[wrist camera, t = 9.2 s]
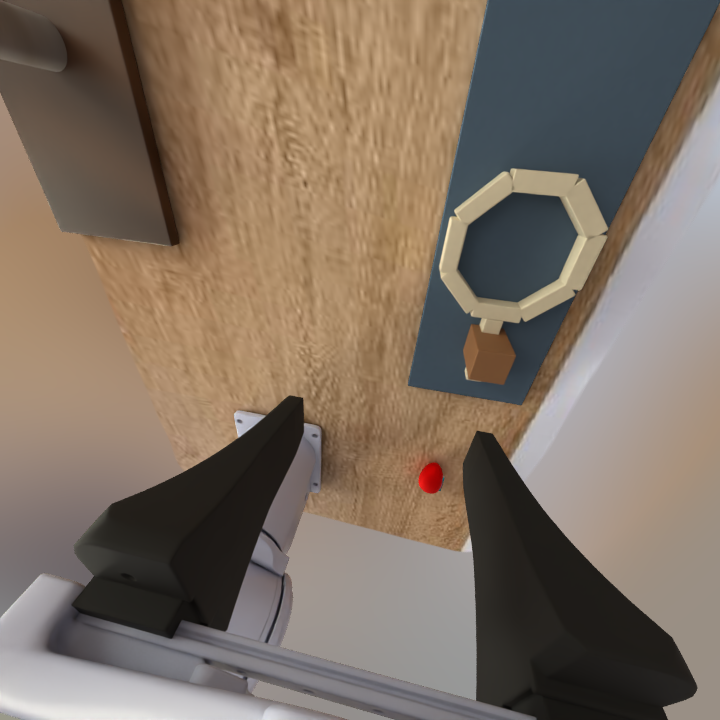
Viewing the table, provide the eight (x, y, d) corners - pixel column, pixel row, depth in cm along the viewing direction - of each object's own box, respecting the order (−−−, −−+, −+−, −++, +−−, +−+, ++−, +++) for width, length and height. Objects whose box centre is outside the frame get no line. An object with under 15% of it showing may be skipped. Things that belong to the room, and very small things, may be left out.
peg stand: (180, 243, 20) (116, 265, 16) (71, 229, 21) (-15, 247, 17) (93, -120, 12) (-74, -258, 8) (-73, -119, 13) (-301, -245, 9)
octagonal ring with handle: (461, 163, 15) (468, 164, 12) (624, 178, 14) (669, 183, 11) (417, 363, 21) (416, 392, 19) (527, 381, 21) (542, 414, 18)
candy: (439, 481, 28) (439, 500, 27) (416, 477, 28) (416, 495, 27) (445, 459, 27) (447, 478, 25) (422, 455, 27) (421, 474, 25)
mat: (520, 401, 22) (521, 405, 22) (408, 382, 23) (407, 386, 23) (727, -26, 11) (737, -32, 11) (494, -32, 12) (496, -38, 11)
